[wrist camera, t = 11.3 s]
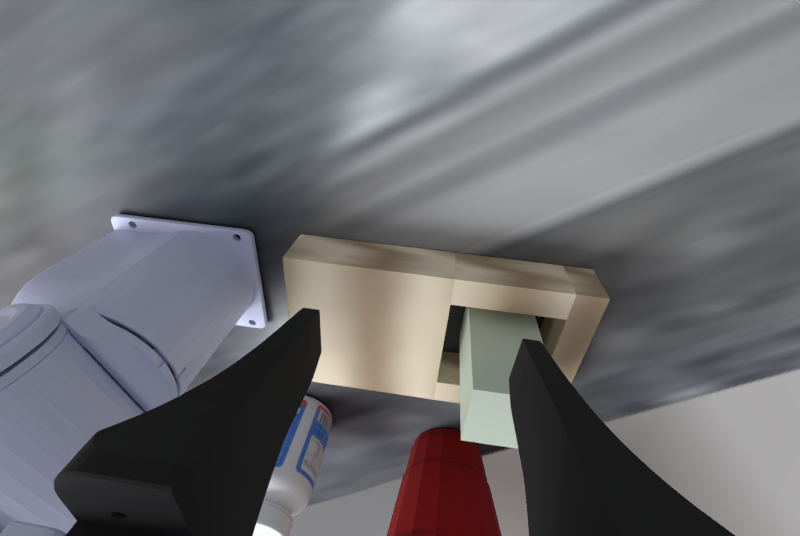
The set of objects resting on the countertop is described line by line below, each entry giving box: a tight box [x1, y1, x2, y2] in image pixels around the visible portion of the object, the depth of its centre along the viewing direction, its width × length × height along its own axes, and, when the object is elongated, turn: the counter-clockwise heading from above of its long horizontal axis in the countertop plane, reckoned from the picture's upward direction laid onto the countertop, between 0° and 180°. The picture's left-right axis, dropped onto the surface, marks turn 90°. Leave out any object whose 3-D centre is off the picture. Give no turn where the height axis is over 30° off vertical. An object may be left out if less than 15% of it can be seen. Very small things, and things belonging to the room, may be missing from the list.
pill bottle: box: [253, 395, 332, 536], centre depth 29 cm, size 6×5×10 cm
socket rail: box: [282, 234, 610, 403], centre depth 24 cm, size 18×10×3 cm, turn 86°
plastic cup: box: [387, 428, 501, 536], centre depth 28 cm, size 11×11×12 cm
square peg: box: [459, 307, 543, 449], centre depth 22 cm, size 4×4×8 cm
